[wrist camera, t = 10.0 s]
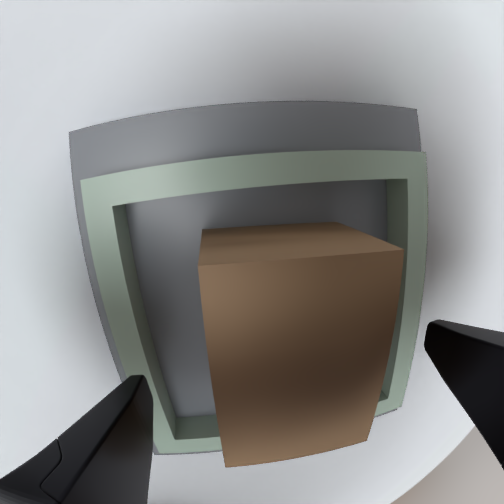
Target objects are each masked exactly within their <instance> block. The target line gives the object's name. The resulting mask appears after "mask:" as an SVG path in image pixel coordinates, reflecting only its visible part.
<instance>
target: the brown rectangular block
mask: <svg viewBox="0 0 504 504" xmlns="http://www.w3.org/2000/svg"><path fill="white" fill-rule="evenodd" d="M403 258H404V249H402V248H399V247H397V246H395V245H392V244H390V243H388V242H385V241H383V240H381V239H378V238H376V237H373V236H371V235H368V234H366V233H364V232H361V231H359V230H356V229H354V228H351V227H349V226H346V225H344V224H341V223H338V222H318V223H298V224H279V225H262V226H245V227H229V228H215V229H202V235H201V243H200V252H199V260H198V273H199V283H200V293H201V303H202V312H203V321H204V329H205V338H206V346H207V354H208V361H209V369H210V376H211V383H212V390H213V396H214V403H215V409H216V416H217V422H218V428H219V434H220V440H221V445H222V451H223V457H224V462H225V467H237V466H247V465H255V464H263V463H270V462H277V461H283V460H289V459H294V458H299V457H304V456H309V455H314V454H318V453H323V452H327V451H331V450H335V449H339V448H343V447H347V446H350V445H354V444H357V443H361V442H364V441H367V438H368V435H369V432H370V429H371V425H372V422H373V419H374V415H375V412H376V408H377V404H378V401H379V397H380V393H381V389H382V385H383V381H384V377H385V372H386V368H387V363H388V359H389V354H390V349H391V344H392V338H393V333H394V327H395V321H396V315H397V308H398V301H399V294H400V286H401V277H402V268H403Z"/></svg>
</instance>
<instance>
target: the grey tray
mask: <svg viewBox="0 0 504 504" xmlns="http://www.w3.org/2000/svg"><path fill="white" fill-rule="evenodd" d="M69 144H70V159H71V170H72V180H73V188H74V196H75V204H76V211H77V217H78V223H79V229H80V235H81V240H82V246H83V251H84V255H85V260H86V265H87V269H88V274H89V278H90V282H91V286H92V290H93V294H94V298H95V302H96V305H97V309H98V312H99V316H100V319H101V323H102V326H103V329H104V332H105V336H106V339H107V342H108V345H109V348H110V351H111V354H112V357H113V360H114V362H115V365H116V368H117V371H118V373H119V376H120V379H121V381H122V382H123V381H124V380H126V379H127V378H128V377H129V376H131V375H144V376H145V377H146V379H147V382H148V385H149V388H150V390H151V393H152V396H153V402H154V407H153V453H154V455H174V454H194V453H208V452H219V451H222V445H221V440H220V434H219V428H218V422H217V416H216V409H215V403H214V396H213V390H212V383H211V376H210V369H209V361H208V354H207V346H206V338H205V329H204V321H203V312H202V303H201V293H200V283H199V273H198V260H199V252H200V243H201V235H202V229H215V228H229V227H245V226H262V225H279V224H298V223H318V222H338V223H341V224H344V225H346V226H349V227H351V228H354V229H356V230H359V231H361V232H364V233H366V234H368V235H371V236H373V237H376V238H378V239H381V240H383V241H385V242H388V243H390V244H392V245H395V246H397V247H399V248H402V249H404V258H403V268H402V277H401V286H400V294H399V301H398V308H397V315H396V321H395V327H394V333H393V338H392V344H391V349H390V354H389V359H388V363H387V368H386V372H385V377H384V381H383V385H382V389H381V393H380V397H379V401H378V404H377V408H376V412H375V415H374V418H375V417H378V416H381V415H384V414H386V413H389V412H392V411H395V410H397V408H399V407H401V406H402V402H403V398H404V394H405V390H406V386H407V382H408V378H409V373H410V369H411V364H412V359H413V354H414V349H415V344H416V338H417V332H418V326H419V319H420V312H421V305H422V297H423V288H424V278H425V266H426V251H427V227H428V188H427V164H426V152H421V144H420V133H419V124H418V115H417V109H412V108H404V107H396V106H387V105H377V104H365V103H350V102H329V101H270V102H248V103H234V104H221V105H211V106H201V107H193V108H185V109H178V110H171V111H164V112H158V113H152V114H146V115H141V116H135V117H130V118H125V119H120V120H116V121H111V122H107V123H103V124H98V125H94V126H90V127H86V128H82V129H79V130H75V131H71V132H69Z"/></svg>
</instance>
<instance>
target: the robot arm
mask: <svg viewBox="0 0 504 504" xmlns="http://www.w3.org/2000/svg"><path fill="white" fill-rule="evenodd" d="M424 347H425V350H426V352H427V354H428V355H429V357H430V358H431V360H432V362H433V363H434V365H435V367H436V368H437V370H438V372H439V374H440V375H441V377H442V379H443V380H444V382H445V383H446V385H447V386H448V387H449V389H450V390H451V392H452V393H453V394H454V396H455V397H456V398H457V400H458V401H459V403H460V404H461V405H462V407H463V408H464V410H465V411H466V413H467V414H468V415H469V417H470V418H471V420H472V421H473V423H474V424H475V426H476V427H477V429H478V430H479V432H480V433H481V434H482V436H483V437H484V439H485V440H486V442H487V444H488V445H489V447H490V448H491V450H492V451H493V453H494V454H495V456H496V458H497V459H498V461H499V463H500V464H501V465H502V468H503V470H504V332H499V331H494V330H489V329H484V328H479V327H474V326H469V325H464V324H459V323H454V322H449V321H444V320H435V321H432V322H430V323H429V324H428V326H427V331H426V336H425V341H424ZM153 407H154V402H153V396H152V393H151V390H150V388H149V385H148V382H147V379H146V377H145V376H144V375H131V376H129V377H128V378H127V379H126V380H124V381H123V382H122V383H121V384H120V385H119V386H118V387H116V388H115V389H114V390H113V391H112V392H111V393H109V394H108V395H107V396H106V397H105V398H104V399H102V400H101V401H100V402H99V403H98V404H97V405H95V406H94V407H93V408H92V409H91V410H90V411H88V412H87V413H86V414H85V415H84V416H82V417H81V418H80V419H79V420H78V421H77V422H75V423H74V424H73V425H72V426H71V427H70V428H68V429H67V430H66V431H65V432H64V433H62V434H61V435H60V436H59V437H58V439H55V440H54V441H53V442H52V443H50V444H49V445H48V446H47V447H46V448H44V449H43V450H42V451H40V452H39V453H38V454H37V455H35V456H34V457H32V458H31V459H30V460H28V461H27V462H25V463H24V464H22V465H21V466H19V467H18V468H16V469H15V470H13V471H12V472H10V473H9V474H7V475H6V476H4V477H3V478H1V479H0V504H147V499H148V488H149V478H150V469H151V461H152V452H153Z"/></svg>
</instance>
